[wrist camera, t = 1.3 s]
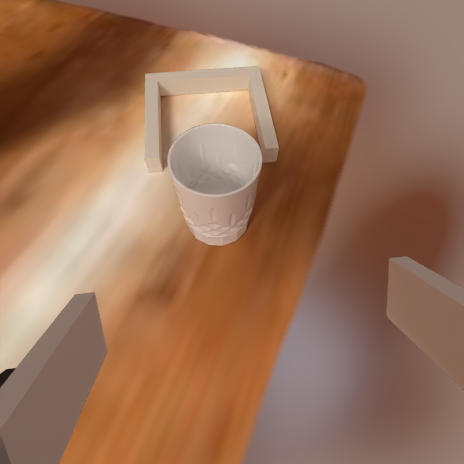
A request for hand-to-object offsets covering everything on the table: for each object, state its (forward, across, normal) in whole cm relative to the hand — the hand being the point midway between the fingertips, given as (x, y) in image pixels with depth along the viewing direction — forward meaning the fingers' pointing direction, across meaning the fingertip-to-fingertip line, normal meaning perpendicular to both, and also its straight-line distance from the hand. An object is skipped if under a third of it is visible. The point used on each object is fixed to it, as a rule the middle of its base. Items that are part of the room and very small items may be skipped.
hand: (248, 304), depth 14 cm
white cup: (+23, 0, -2) cm, 23 cm away
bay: (+33, 0, +8) cm, 34 cm away
